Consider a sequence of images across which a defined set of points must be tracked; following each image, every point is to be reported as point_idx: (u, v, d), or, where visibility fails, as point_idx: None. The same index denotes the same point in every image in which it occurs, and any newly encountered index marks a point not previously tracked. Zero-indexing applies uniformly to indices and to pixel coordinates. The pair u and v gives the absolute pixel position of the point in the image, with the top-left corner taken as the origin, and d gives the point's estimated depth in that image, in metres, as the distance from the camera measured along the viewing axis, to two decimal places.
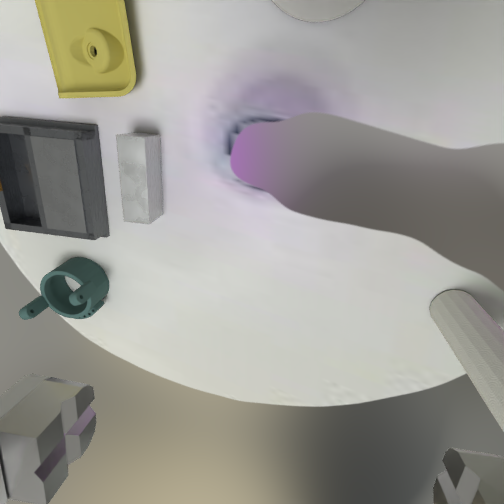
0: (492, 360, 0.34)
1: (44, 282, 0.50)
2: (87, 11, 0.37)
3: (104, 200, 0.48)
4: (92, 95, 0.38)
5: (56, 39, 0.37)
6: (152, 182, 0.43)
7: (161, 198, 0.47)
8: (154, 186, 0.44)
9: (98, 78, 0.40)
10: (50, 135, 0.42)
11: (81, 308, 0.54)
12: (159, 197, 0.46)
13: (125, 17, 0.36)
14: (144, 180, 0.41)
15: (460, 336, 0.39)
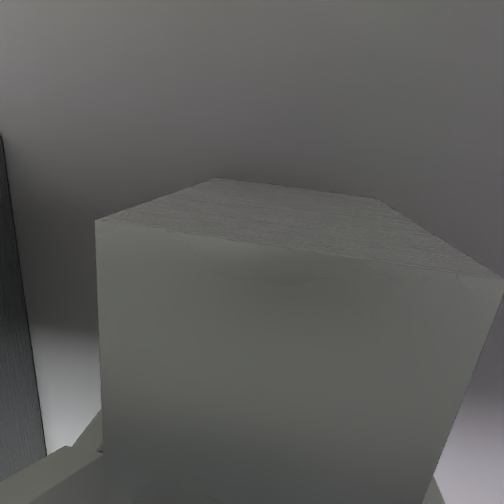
0: None
1: None
2: None
3: None
4: None
5: None
6: None
7: None
8: None
9: None
10: None
11: None
12: None
13: None
14: None
15: None
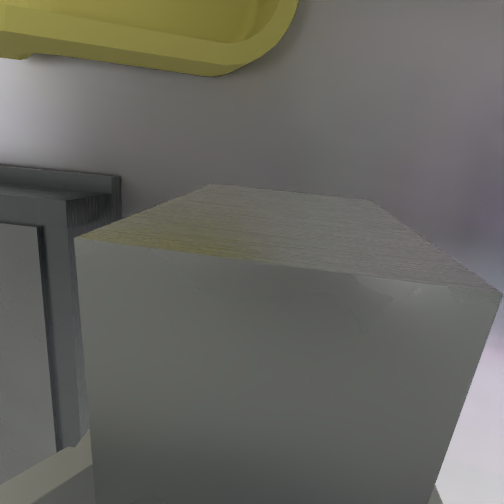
0: None
1: None
2: None
3: None
4: (120, 40, 0.09)
5: None
6: None
7: None
8: None
9: (147, 1, 0.11)
10: None
11: None
12: None
13: None
14: None
15: None
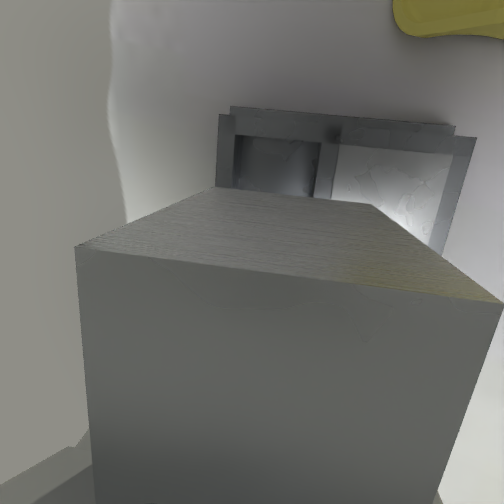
0: None
1: None
2: None
3: None
4: None
5: None
6: None
7: None
8: None
9: None
10: (390, 144, 0.18)
11: None
12: None
13: None
14: None
15: None
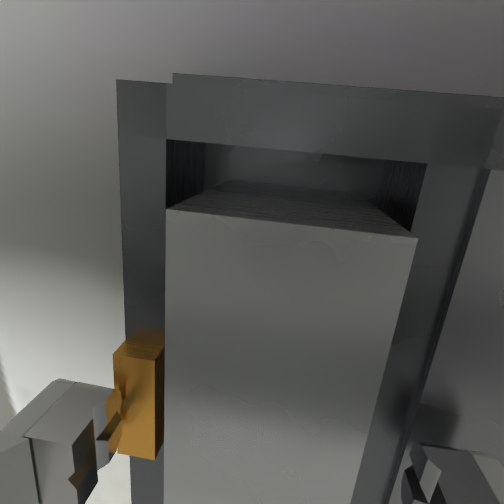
0: None
1: None
2: None
3: None
4: None
5: None
6: None
7: None
8: None
9: None
10: None
11: None
12: None
13: None
14: (332, 499, 0.06)
15: None
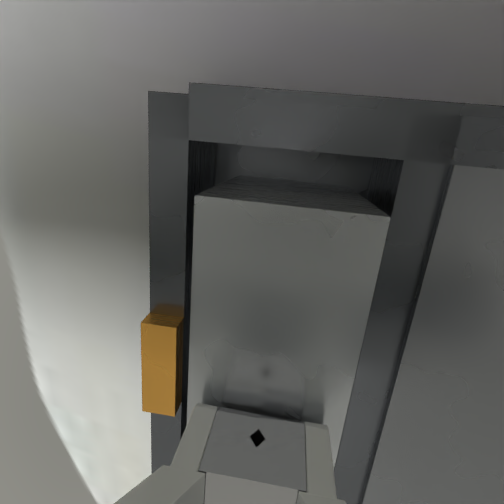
0: None
1: None
2: None
3: None
4: None
5: None
6: None
7: None
8: None
9: None
10: None
11: None
12: None
13: None
14: None
15: None
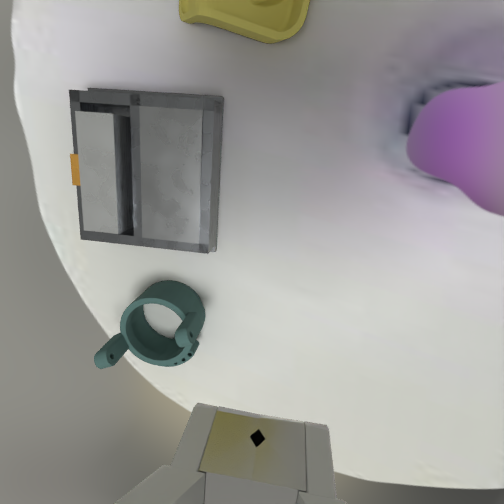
0: None
1: (127, 314, 0.36)
2: None
3: (217, 201, 0.35)
4: (243, 25, 0.27)
5: None
6: (124, 178, 0.32)
7: None
8: (127, 184, 0.33)
9: (248, 9, 0.29)
10: (168, 104, 0.30)
11: (168, 351, 0.39)
12: None
13: None
14: (112, 172, 0.31)
15: None
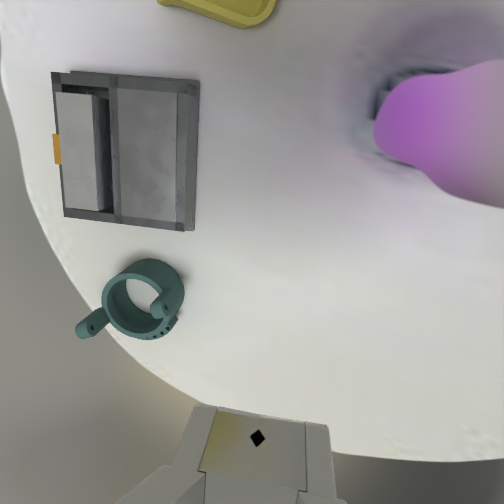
0: None
1: (108, 289, 0.38)
2: None
3: (194, 182, 0.37)
4: (213, 9, 0.28)
5: None
6: (104, 158, 0.34)
7: None
8: (107, 164, 0.35)
9: None
10: (145, 87, 0.32)
11: (148, 326, 0.41)
12: None
13: None
14: (91, 151, 0.32)
15: None
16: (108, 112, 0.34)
